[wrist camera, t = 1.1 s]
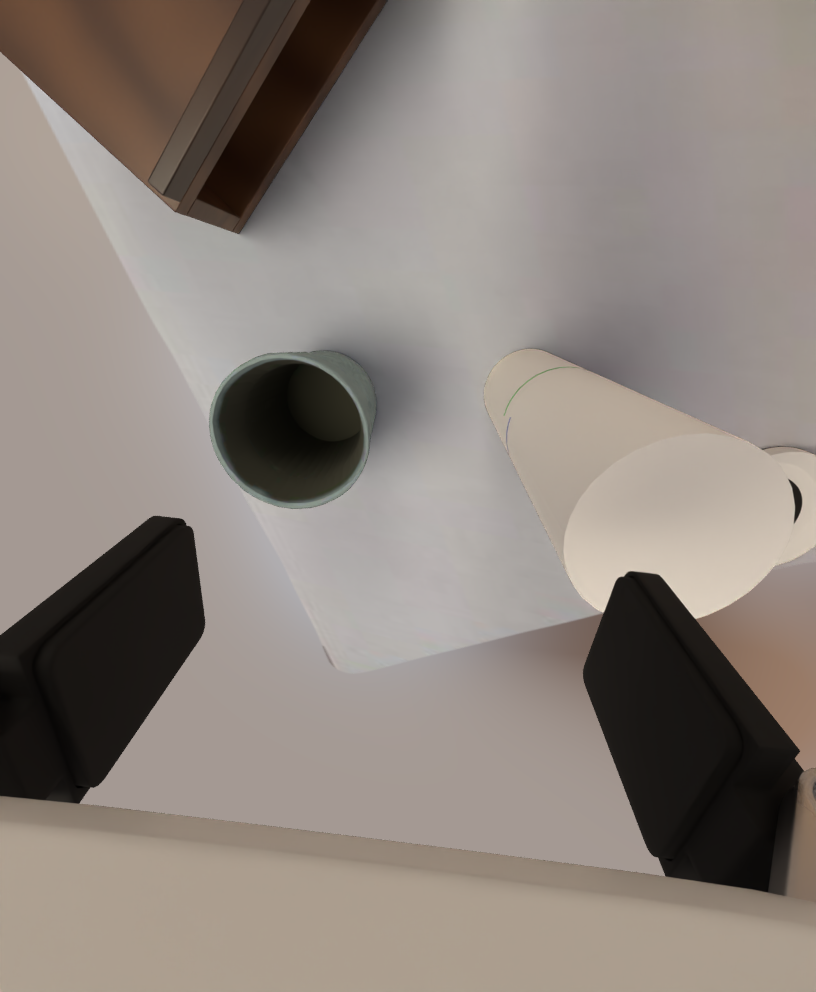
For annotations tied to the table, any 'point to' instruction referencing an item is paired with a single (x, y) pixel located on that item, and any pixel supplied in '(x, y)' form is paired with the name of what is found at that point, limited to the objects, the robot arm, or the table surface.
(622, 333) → the table surface
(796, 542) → the record player
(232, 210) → the shelf
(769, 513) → the cylindrical container
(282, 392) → the grey-green cup
